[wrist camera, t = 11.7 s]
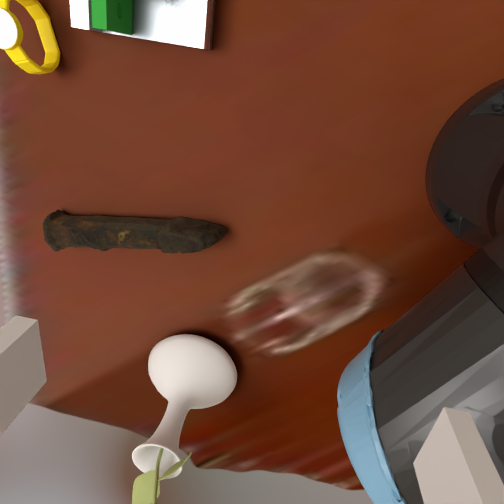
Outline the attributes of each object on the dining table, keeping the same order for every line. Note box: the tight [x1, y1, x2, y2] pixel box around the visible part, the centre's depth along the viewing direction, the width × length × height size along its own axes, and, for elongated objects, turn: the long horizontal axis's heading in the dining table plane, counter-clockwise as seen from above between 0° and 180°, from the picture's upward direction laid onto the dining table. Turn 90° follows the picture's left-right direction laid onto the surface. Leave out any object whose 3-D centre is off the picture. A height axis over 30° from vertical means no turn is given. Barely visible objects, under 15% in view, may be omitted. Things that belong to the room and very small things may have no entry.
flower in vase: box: [132, 334, 237, 504], centre depth 36 cm, size 13×11×25 cm
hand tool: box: [43, 210, 228, 253], centre depth 39 cm, size 19×4×5 cm, turn 90°
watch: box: [0, 0, 60, 74], centre depth 31 cm, size 6×3×6 cm, turn 8°
